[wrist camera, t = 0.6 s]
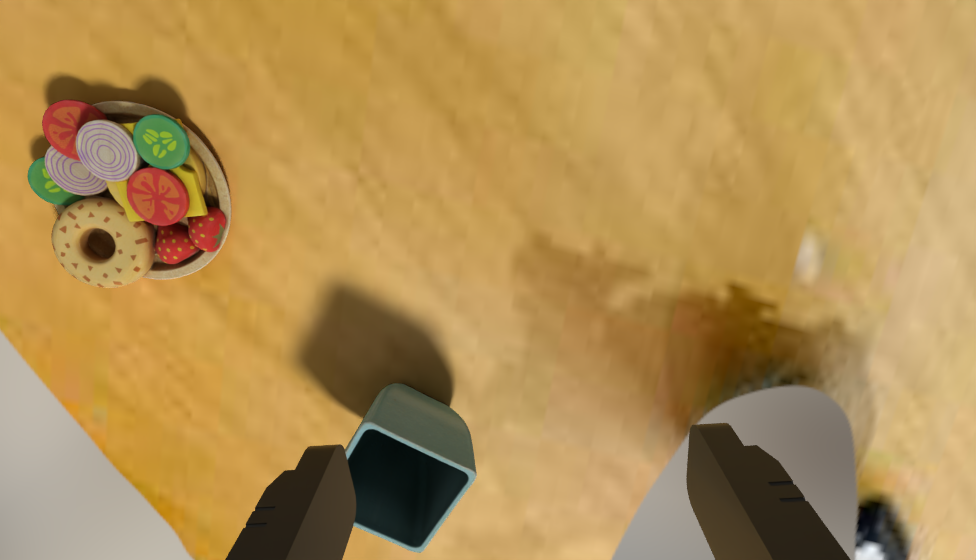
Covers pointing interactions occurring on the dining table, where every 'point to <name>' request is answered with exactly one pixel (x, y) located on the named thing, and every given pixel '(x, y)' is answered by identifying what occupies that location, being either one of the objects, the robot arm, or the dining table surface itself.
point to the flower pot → (409, 466)
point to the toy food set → (129, 193)
